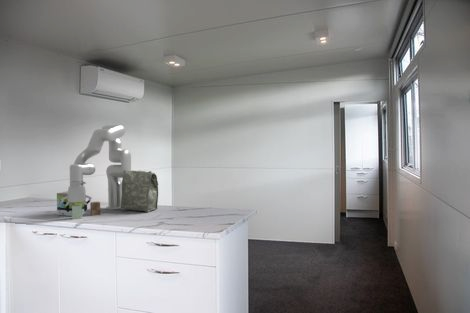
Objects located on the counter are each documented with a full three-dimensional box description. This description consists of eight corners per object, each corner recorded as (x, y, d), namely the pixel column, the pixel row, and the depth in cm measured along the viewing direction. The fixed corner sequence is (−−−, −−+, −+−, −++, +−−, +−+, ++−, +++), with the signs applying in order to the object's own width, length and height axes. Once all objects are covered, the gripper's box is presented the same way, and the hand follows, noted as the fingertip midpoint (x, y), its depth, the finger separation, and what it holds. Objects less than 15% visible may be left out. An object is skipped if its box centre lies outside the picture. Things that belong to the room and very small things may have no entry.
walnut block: (98, 213, 226) (98, 201, 225) (100, 214, 221) (100, 202, 221) (90, 214, 223) (90, 202, 223) (92, 215, 219) (92, 203, 218)
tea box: (56, 215, 221) (56, 192, 220) (68, 212, 230) (68, 191, 230) (74, 216, 216) (74, 193, 216) (86, 213, 225) (86, 191, 225)
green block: (82, 217, 215) (81, 204, 214) (81, 218, 210) (80, 205, 210) (73, 217, 213) (73, 204, 213) (72, 219, 208) (72, 206, 208)
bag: (159, 208, 241) (161, 170, 240) (147, 213, 226) (149, 172, 225) (131, 205, 248) (133, 168, 247) (118, 209, 232) (120, 169, 231)
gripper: (92, 183, 217) (92, 209, 217) (62, 184, 212) (62, 211, 212) (91, 184, 210) (91, 211, 210) (60, 185, 205) (60, 213, 205)
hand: (76, 211), depth 211 cm, fingers open, 9 cm apart
